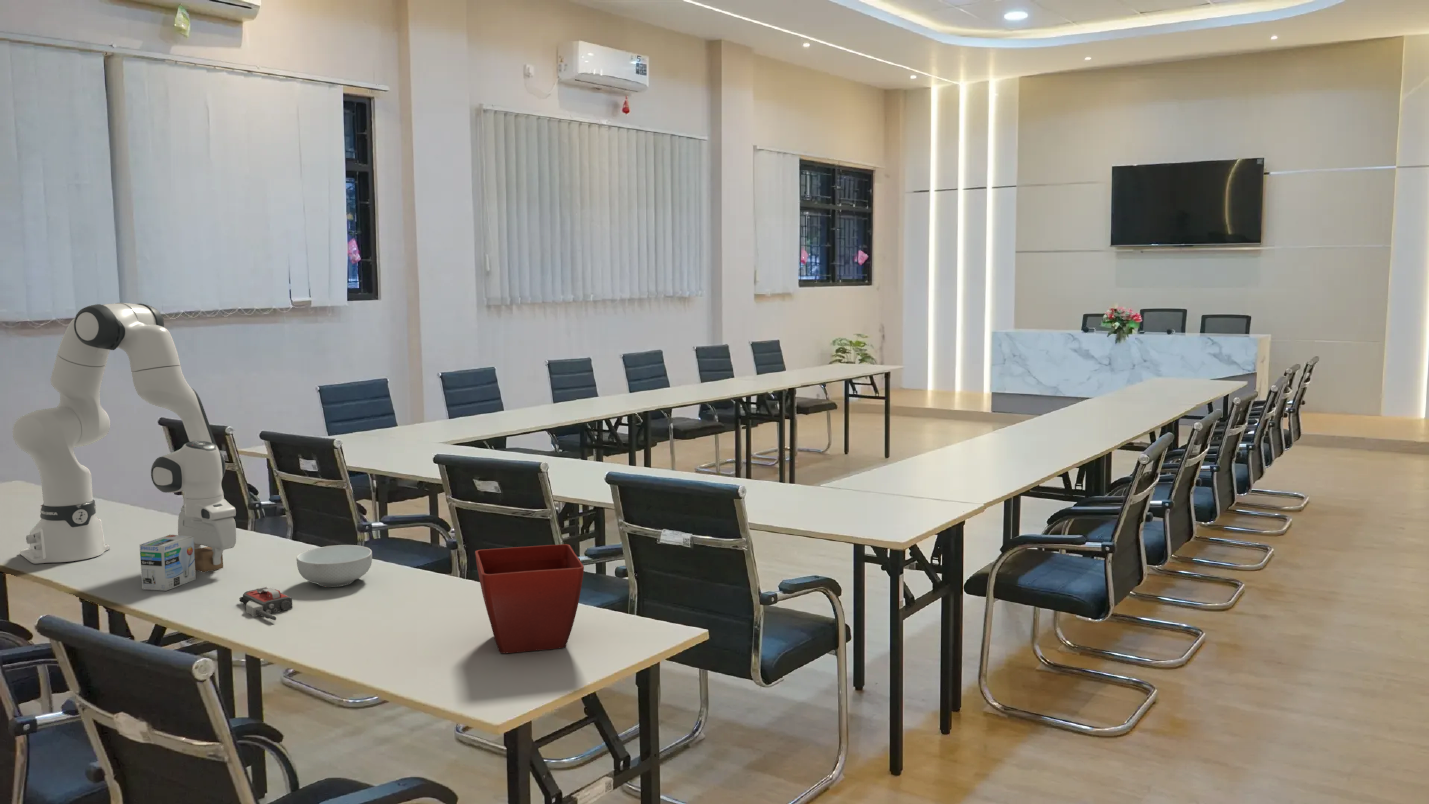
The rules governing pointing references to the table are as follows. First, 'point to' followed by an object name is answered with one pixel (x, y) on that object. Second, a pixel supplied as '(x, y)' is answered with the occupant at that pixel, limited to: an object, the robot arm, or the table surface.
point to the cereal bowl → (334, 564)
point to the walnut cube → (205, 560)
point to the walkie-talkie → (265, 602)
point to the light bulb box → (167, 562)
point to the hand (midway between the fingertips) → (207, 562)
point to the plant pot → (530, 595)
